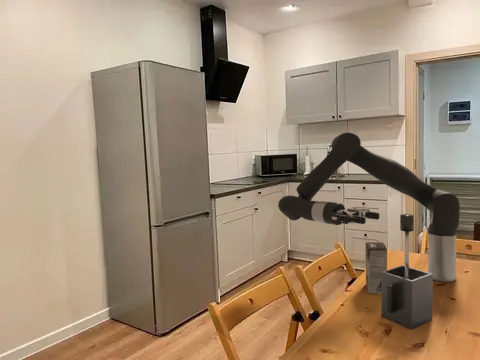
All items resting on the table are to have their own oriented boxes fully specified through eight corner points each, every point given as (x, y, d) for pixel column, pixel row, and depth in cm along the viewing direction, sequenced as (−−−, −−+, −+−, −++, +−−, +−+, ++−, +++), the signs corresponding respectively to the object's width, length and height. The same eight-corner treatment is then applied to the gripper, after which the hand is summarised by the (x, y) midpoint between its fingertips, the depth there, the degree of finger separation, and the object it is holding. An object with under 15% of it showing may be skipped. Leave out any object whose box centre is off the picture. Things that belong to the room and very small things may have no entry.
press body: (401, 308, 119) (401, 265, 117) (432, 320, 110) (432, 273, 109) (374, 319, 112) (374, 274, 110) (405, 333, 103) (405, 284, 102)
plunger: (402, 279, 116) (402, 211, 114) (427, 286, 109) (428, 215, 108) (385, 285, 112) (385, 215, 110) (411, 293, 105) (411, 219, 103)
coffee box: (365, 283, 140) (364, 241, 139) (383, 284, 139) (383, 241, 137) (368, 293, 131) (368, 248, 130) (387, 294, 130) (387, 248, 128)
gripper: (315, 204, 124) (360, 209, 112) (339, 199, 133) (383, 203, 121) (315, 227, 124) (360, 234, 112) (339, 220, 134) (383, 226, 122)
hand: (372, 218), depth 117 cm, fingers open, 8 cm apart
